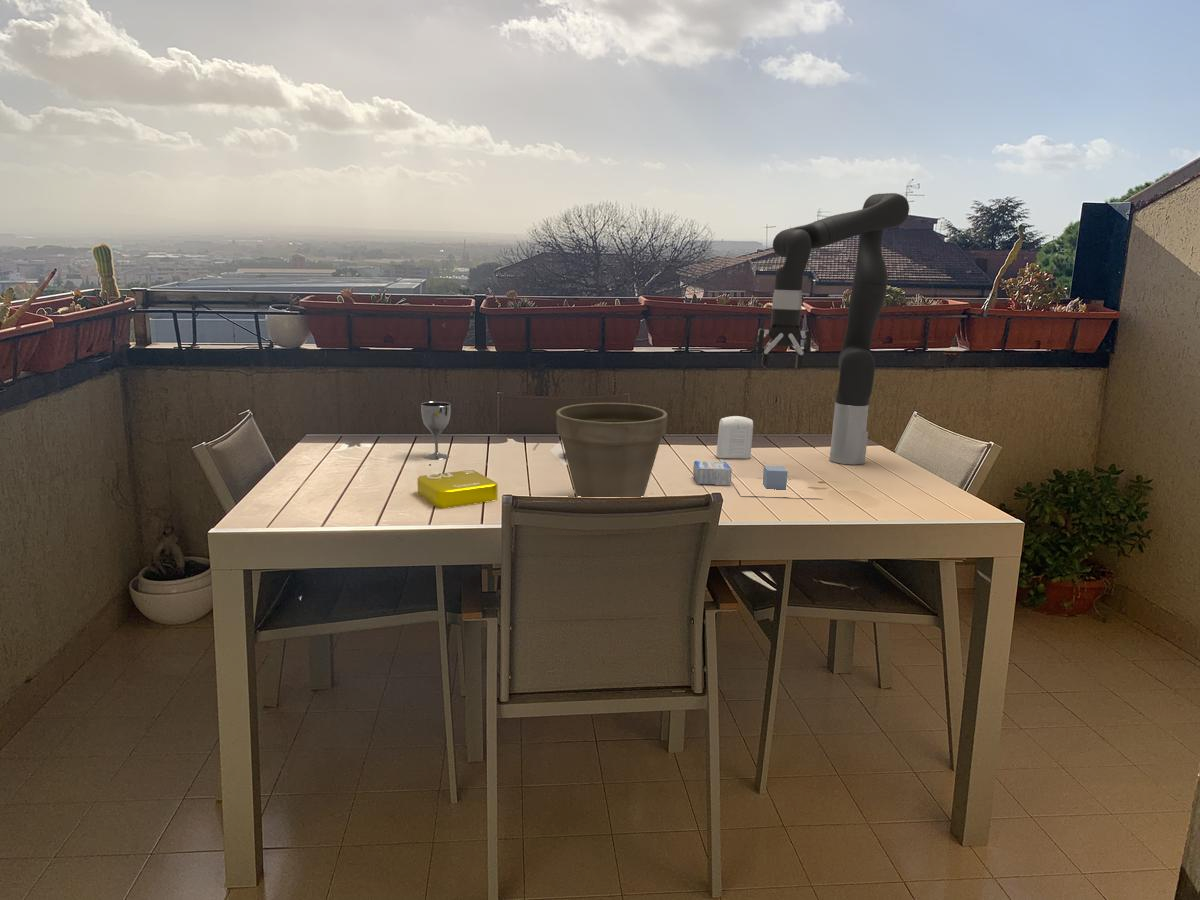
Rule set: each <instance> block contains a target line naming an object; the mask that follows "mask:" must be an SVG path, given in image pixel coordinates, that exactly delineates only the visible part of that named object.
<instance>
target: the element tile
mask: <svg viewBox="0 0 1200 900" xmlns="http://www.w3.org/2000/svg"><path fill="white" fill-rule="evenodd" d="M417 495H419V496H420V497H421V498H423V499H424V500H425V501H427V502H429V504H431V505H432V506H434V507H435V508H438V507H439V508H438V509H449V508H448V507H451V508H455V507H454V506H457V507H462V506H461V505H464V506H469V505H468V504H471V505H475V504H474V503H478V504H481V503H480V502H485V503H487V502H486V501H492V500H496V501H497V500H498V482H496V481H494V480H492V479H491V478H489V477H488V476H486V475H484V474H482V473H481V472H478V471H476V470H473V469H466V470H459V471H451V472H443V473H429V474H425V475H419V476H418V477H417ZM492 502H493V501H492Z"/></svg>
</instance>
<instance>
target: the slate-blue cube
mask: <svg viewBox="0 0 1200 900" xmlns="http://www.w3.org/2000/svg"><path fill="white" fill-rule="evenodd" d="M762 472H763V474H762V478H763V485H764V487H765V488H766V489H774V490H775V489H776V490H786V485H787V479H788V473H789V472H788V470H787V469H786V467H785V466H783V465H782V466H781V465H763V471H762Z"/></svg>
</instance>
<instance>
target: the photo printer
mask: <svg viewBox="0 0 1200 900" xmlns="http://www.w3.org/2000/svg"><path fill="white" fill-rule="evenodd" d="M717 431H718V432H717V445H716V458H718V459H747V460H749V459H751V455H752V446H753V445H752V444H753V443H752V442H753V435H754V434H753V433H754V421H753V419H751V418H749V417H745V416H739V415H732V416H730V415H729V416H726V417H722V418H720V420H719V424H718V430H717Z"/></svg>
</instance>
